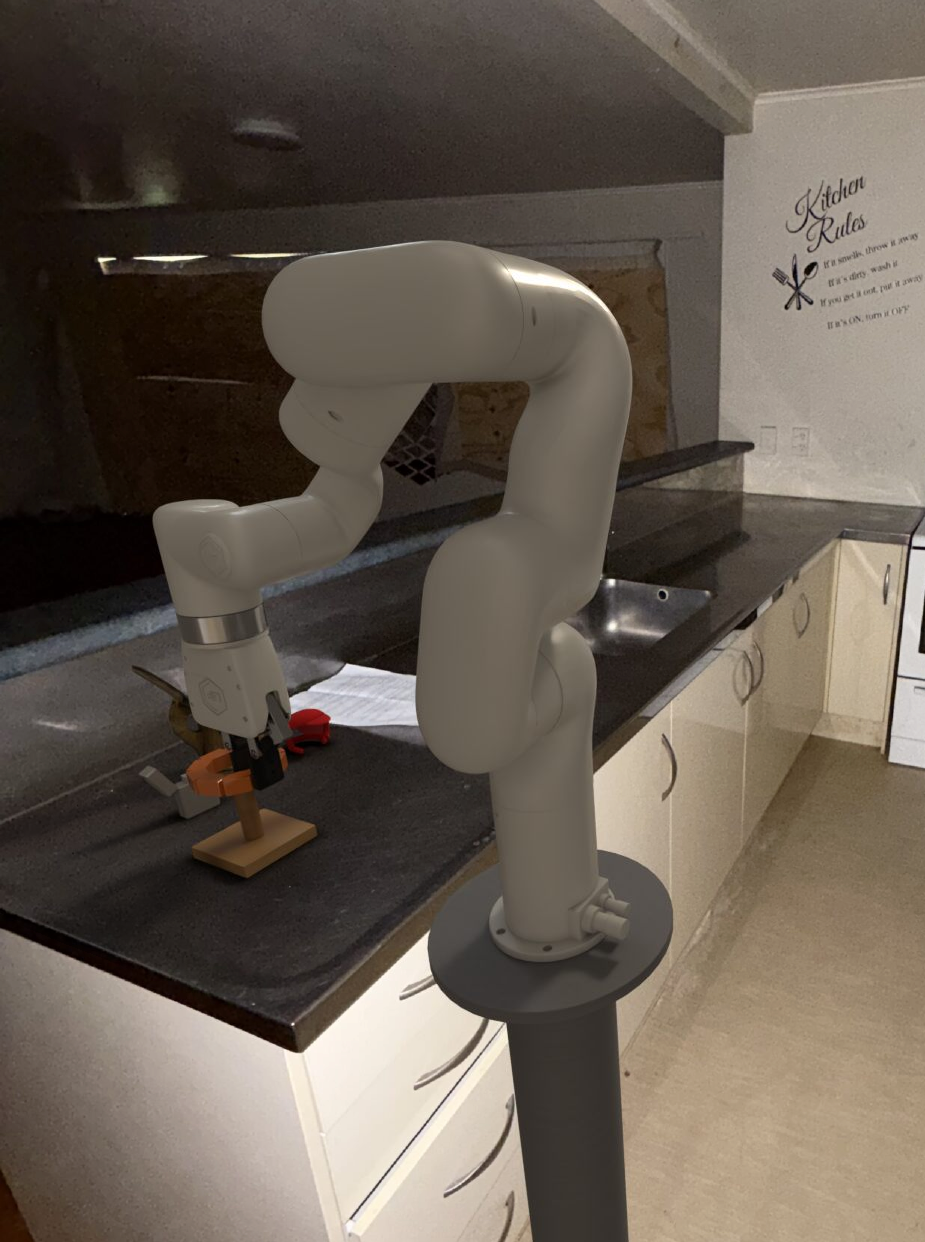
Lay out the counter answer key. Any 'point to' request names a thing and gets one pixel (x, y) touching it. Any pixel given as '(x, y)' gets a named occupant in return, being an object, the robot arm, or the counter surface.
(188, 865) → the counter surface
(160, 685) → the wooden mug
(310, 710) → the red helmet
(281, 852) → the stand
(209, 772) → the ring
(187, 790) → the lighter
